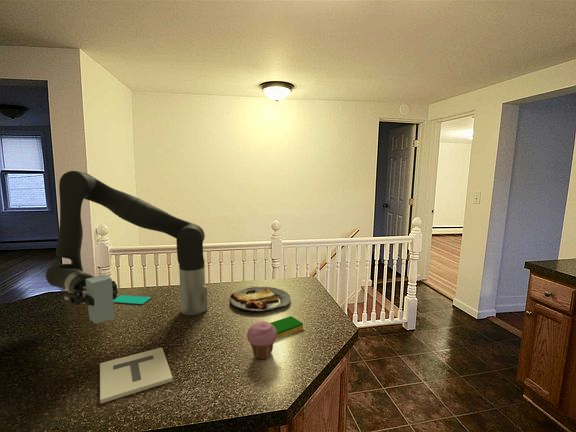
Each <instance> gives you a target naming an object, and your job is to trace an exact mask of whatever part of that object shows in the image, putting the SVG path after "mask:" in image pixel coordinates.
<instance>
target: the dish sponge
mask: <svg viewBox="0 0 576 432" xmlns="http://www.w3.org/2000/svg"><path fill="white" fill-rule="evenodd" d="M269 323H270V324H272V325H273V326H274V327H275V328H276V330H277V338H276V340H277V339H279V338H282V337H286V336H287V335H290V334H293V333H296V332H299V331H302V330H303V329H304V323H303V322H302V321H300V320H298V319H297V318H295V317H294V316H292V315H289V316H287V317H283V318H281V319H278V320H275V321H272V322H269Z"/></svg>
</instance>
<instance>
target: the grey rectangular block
mask: <svg viewBox="0 0 576 432" xmlns="http://www.w3.org/2000/svg"><path fill="white" fill-rule="evenodd" d="M85 280H86V290H87V294H88V295H90V296H91V297H92V298H94V304H95V305H94V306H90V305H87V309H88V310H87V311H88V318H89V319H88V320H90V321H92V323H94V324H95V325H98V324H100V323H103V322H106V321H109V320H112V319H115V317H116V315H115V303H114V302H113V290H112V281H113V279H112V278H111V277H110V276H108V275H106V274H100V275H96V276H94V277H92V278H87V279H85Z"/></svg>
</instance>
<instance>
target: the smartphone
mask: <svg viewBox="0 0 576 432" xmlns="http://www.w3.org/2000/svg"><path fill="white" fill-rule="evenodd" d="M152 299H153V296H145V295H144V296H142V295H130V294H129V295H127V294H120V295H117V297H116V299H114V300H113V302H114V304H120V305H124V304H125V305H130V306H131V305H134V306H145V304H147V303H148V302H149V301H152Z"/></svg>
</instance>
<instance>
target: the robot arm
mask: <svg viewBox="0 0 576 432" xmlns="http://www.w3.org/2000/svg"><path fill="white" fill-rule="evenodd" d="M58 188H59V189H58V190H59V228H58V236H57V242H56V243H57V244H56V248H55V249H56V251H55V254H56V256H57V257H59V258H62V259H66V260H67V259H68V260H70V262H71V263H60V264H59V263H58V264H57V263H56V264H52V265H50V266H49V267H48V268H47V269H46V272H45V279H46V282H47V283H48V284H49V285H51V286H52V287H57V288H61V289H65V290H66V291H67V292H65V293H63V294H64V295H63V296H64V302H65V303H68V304H71V305H73V306H79V305H81V303H82V304H85V305H87V306H88V305H90V306H94V305H95V304H94V298H92V297H91V296H90V295H88V294H87V290H86V280H85V279H87V278H92V277H95V276H93V275H92V274H90V273H88V272H85V271H84V268H83V265H82V257H81V256H82V255H81V254H82V253H81V252H82V251H81V250H82V246H83V245H82V244H83V235H84V233H83V223H82V212H81V211H82V204H83V202H84V200H87V201H90V202H92V203H96V204H98V205H100V206H102V207H104V208H106V209H107V210H109V211H110V212H111V213H112V214H114V215H115V216H117V217H119V218H120V219H121V220H123V221H125V222H127V223H130V224H132V225H134V226H137V227H140V228H141V229H146V230H151V231H155V232H159V233H163V234H166V235H168V236H171V237H173V238H174V239H176V256H177V257H176V258H177V262H178V268H179V271H178V273H179V275H178V276H179V295H180V296H179V299H180V312H181V314H183V315H186V316H196V315H201V314H202V313H204V312H206V311H208V287H207V286H206V273H205V271H206V270H205V267H206V266H205V259H204V240H205V237H206V235H205V231H204V229H203V228H202V226H200V225H198V224H196V223H193V222H190V221H188V220H184V219H181V218H178V217H177V216H174V215H172V214H170V213H168V212H166V211H165V210H163V209H162V208H159V207H157V206H155V205H153V204H151V203H149V202H147V201H145V200H143V199H141V198H139V197H137V196H134V195H132V194H129V193H127V192H124V191H121V190H118V189H115V188H114V187H111V186H109V185H107V184H106V183H105V182H102V180H99V179H98V178H96V177H95V176H93V175H91V174H89V173H86V172H83V171H80V170H79V171H78V170H70V171H67V172H65V173H63V174H62V175H61V177H60V179H59V184H58ZM112 290H113V300H114V299H116V297H118V295H117V294H118V284H117V283H116V281H115V280H112Z"/></svg>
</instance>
